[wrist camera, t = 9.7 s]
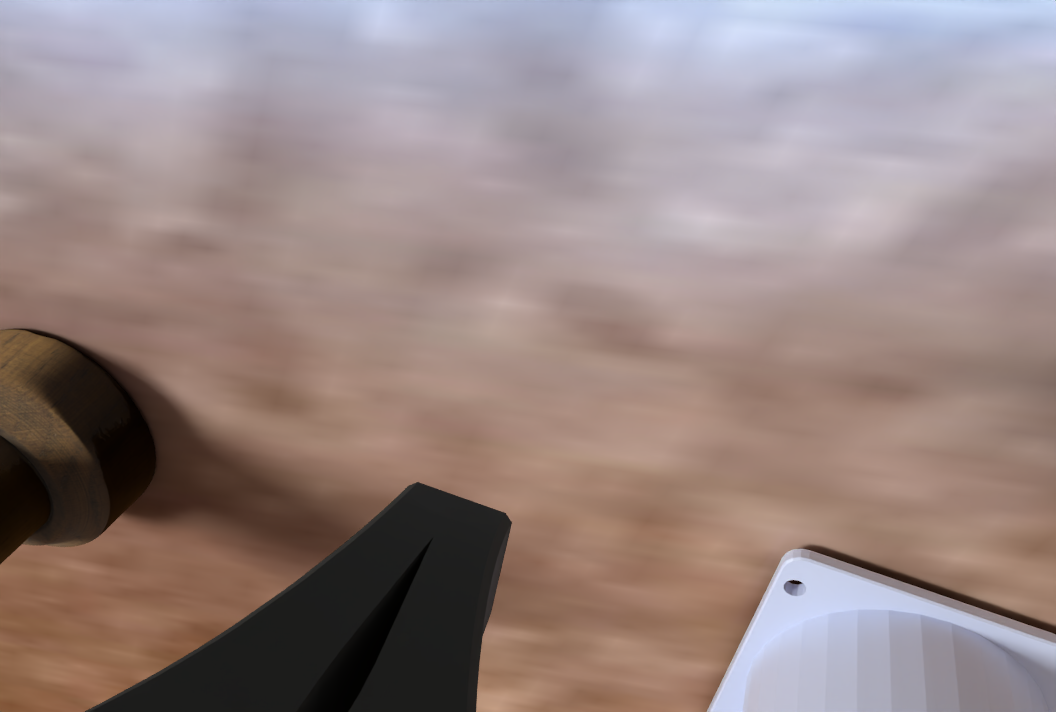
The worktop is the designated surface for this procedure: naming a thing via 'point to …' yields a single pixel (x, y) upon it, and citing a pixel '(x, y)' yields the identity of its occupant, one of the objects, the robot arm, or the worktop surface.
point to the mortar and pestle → (64, 445)
